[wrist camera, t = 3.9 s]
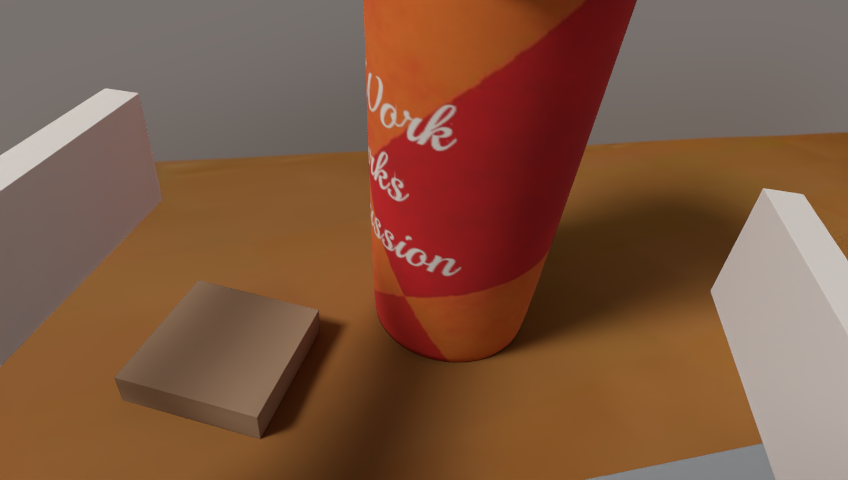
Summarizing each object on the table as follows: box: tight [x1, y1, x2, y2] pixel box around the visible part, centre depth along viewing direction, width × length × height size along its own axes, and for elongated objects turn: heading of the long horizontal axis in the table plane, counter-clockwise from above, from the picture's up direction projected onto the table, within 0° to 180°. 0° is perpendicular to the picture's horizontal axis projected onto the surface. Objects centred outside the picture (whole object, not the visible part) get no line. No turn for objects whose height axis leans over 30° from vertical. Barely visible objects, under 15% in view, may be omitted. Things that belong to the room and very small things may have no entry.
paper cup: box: [364, 0, 637, 362], centre depth 18 cm, size 8×8×14 cm
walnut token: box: [114, 280, 320, 439], centre depth 19 cm, size 4×4×2 cm
